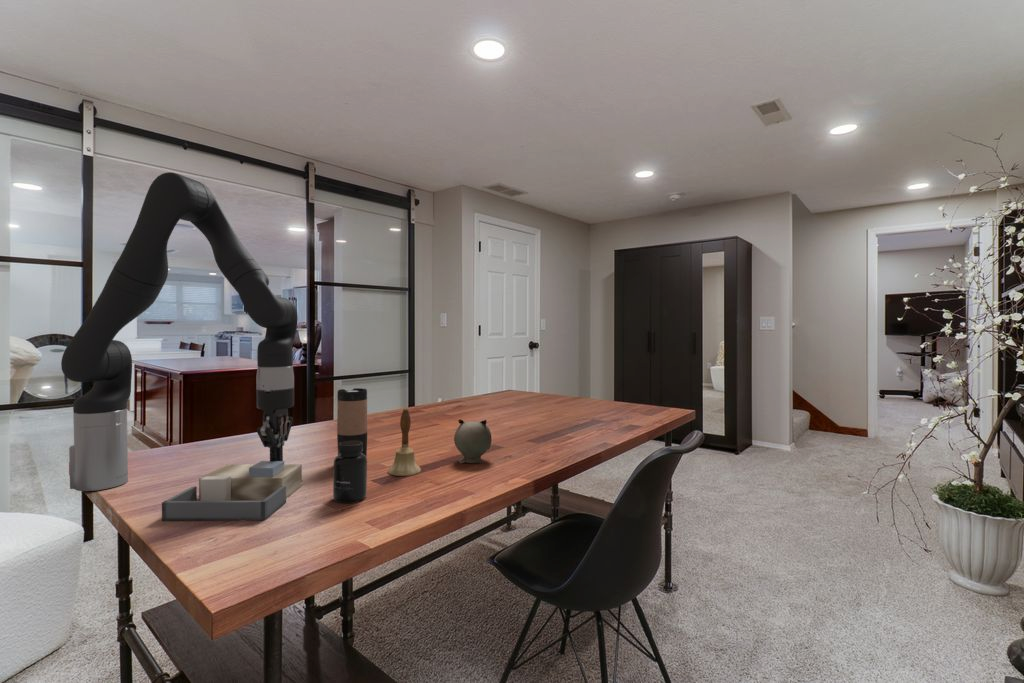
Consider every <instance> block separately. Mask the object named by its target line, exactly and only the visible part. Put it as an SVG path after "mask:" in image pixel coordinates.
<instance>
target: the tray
mask: <svg viewBox="0 0 1024 683" xmlns="http://www.w3.org/2000/svg"><path fill="white" fill-rule="evenodd" d="M197 494H198V492H197V486H191V487H189V488H187V489H185V490H183V491H182V492H179V493H177V494H175V495H174V496H171V497H170V498H168V499H166V500H164V501H163V502H161V521H162V522H207V521H208V522H213V521H214V522H219V521H218V520H247V521H266V520H268V519H269V518H270V517H271V516H272V515H273V514H275V513H276V512H277V511H278V510H279V509H281V507H283V506H284V505H285V504H286V503H287V498H286V486H282V487H280V488H279V489H278V490H276V491H275V492H273V493H272V494H271V495H269V496H268V497H267V498H265V499H264V500H254V501H199V500H198V499H197V498H198V497H197V496H198V495H197ZM215 520H217V521H215Z"/></svg>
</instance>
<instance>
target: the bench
mask: <svg viewBox="0 0 1024 683" xmlns="http://www.w3.org/2000/svg"><path fill="white" fill-rule="evenodd" d="M255 464H256V463H255ZM255 464H252V463H251V464H247V463H245V464H234V463H233V464H225V465H223V466H221V467H218V468H217V469H215V470H213V471H211V472H208V473H207V474H204V475H202V476H201V477H199V478H198V501H201V499H200V479H202V478H204V477H206V476H231V500H230V501H254V500H264V499H265V498H267V497H268V496H269V495H271V494H272V493H273V492H275V491H276V490H278V489H279V488H280V487H282V486H286V499H287V497H288V498H289V497H290V496H291V495H292V494H294V493H295V492H296V491H297V490H299V489H300V488H301V487H302V486H303V481H302V478H303V477H302V476H303V475H302V474H303V473H302V472H303V465H302V464H299V463H298V464H295V463H294V464H289V463H288V464H287V463H284V471H282V472H281V473H279V474H278V475H276V476H274V477H249V468H250V467H252V466H253V465H255Z"/></svg>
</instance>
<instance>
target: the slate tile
mask: <svg viewBox="0 0 1024 683" xmlns="http://www.w3.org/2000/svg"><path fill="white" fill-rule="evenodd" d="M284 464H285V461H270V460H261V461H259V462H257V463H255V465H253V466H252V467H250V468H249V477H274V476H276V475H278V474H279V473H281V472H282V471H284Z"/></svg>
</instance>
